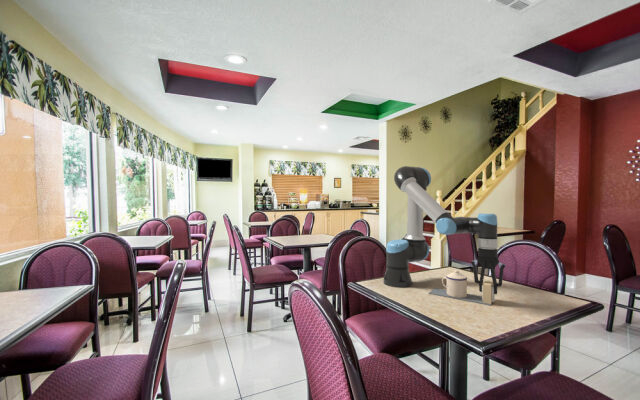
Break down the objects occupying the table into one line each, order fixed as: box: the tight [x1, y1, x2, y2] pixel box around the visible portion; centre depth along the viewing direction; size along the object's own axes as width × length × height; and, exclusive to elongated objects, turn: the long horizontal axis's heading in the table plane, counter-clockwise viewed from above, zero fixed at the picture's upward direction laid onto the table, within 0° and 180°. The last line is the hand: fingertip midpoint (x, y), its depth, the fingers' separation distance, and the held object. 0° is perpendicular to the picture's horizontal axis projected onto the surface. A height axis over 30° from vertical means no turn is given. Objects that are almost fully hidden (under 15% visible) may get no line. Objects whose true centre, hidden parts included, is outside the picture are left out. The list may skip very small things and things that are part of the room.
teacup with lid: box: [441, 269, 468, 298], centre depth 135 cm, size 12×9×12 cm
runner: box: [428, 280, 494, 307], centre depth 134 cm, size 26×10×8 cm, turn 52°
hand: (488, 300), depth 126 cm, fingers closed on runner, 3 cm apart
